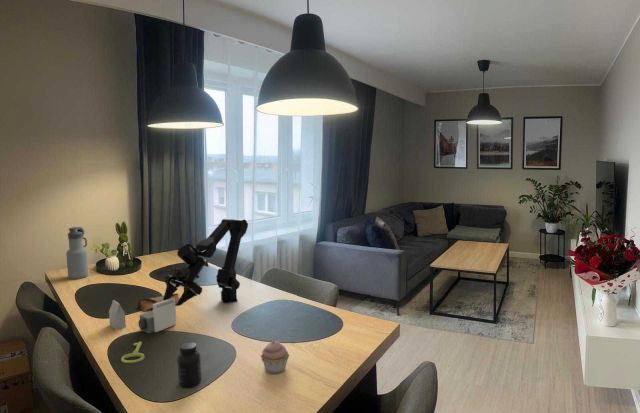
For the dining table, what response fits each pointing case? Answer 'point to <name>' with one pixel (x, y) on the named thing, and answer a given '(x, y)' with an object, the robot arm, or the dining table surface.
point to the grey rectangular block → (146, 322)
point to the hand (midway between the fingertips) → (170, 302)
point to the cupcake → (274, 357)
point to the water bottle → (77, 254)
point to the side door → (164, 314)
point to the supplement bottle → (189, 366)
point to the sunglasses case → (148, 303)
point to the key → (134, 354)
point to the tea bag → (117, 316)
